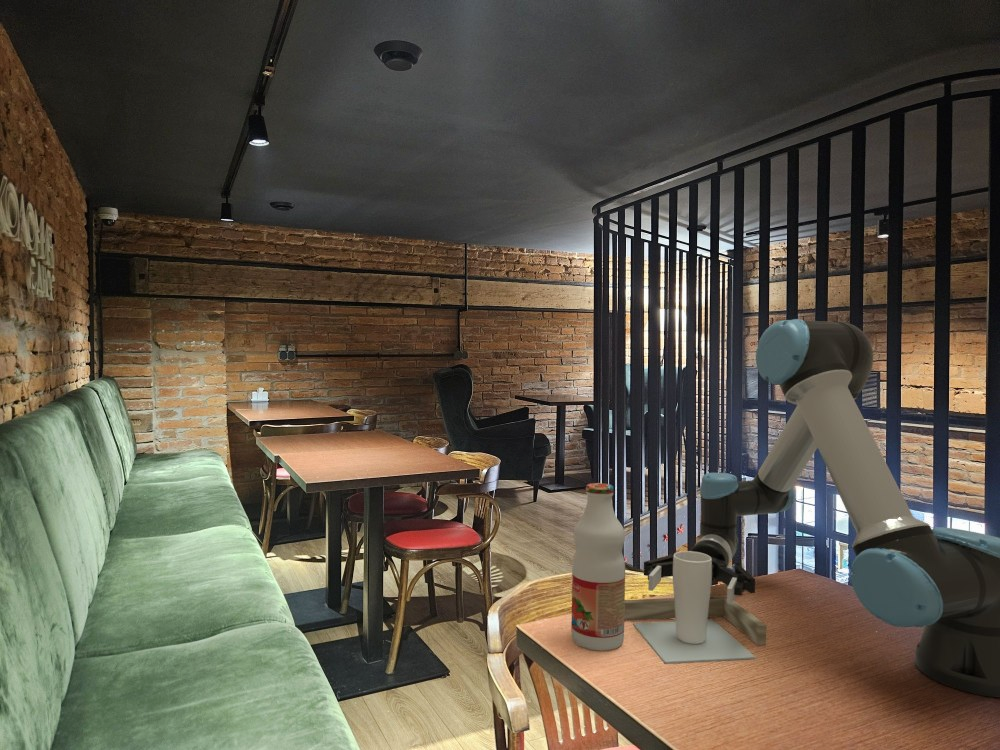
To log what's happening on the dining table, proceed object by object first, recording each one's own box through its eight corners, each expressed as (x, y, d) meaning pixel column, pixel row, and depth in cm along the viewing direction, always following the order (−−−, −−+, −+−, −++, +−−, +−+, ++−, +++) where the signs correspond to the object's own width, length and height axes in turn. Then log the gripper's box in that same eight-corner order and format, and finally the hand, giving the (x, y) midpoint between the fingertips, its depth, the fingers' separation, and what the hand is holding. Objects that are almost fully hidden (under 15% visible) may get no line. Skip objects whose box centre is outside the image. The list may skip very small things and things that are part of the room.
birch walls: (766, 644, 117) (766, 625, 117) (638, 651, 114) (639, 631, 113) (727, 613, 131) (727, 595, 131) (613, 618, 128) (613, 600, 128)
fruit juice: (623, 654, 112) (626, 491, 111) (568, 649, 114) (570, 489, 113) (624, 632, 121) (627, 481, 121) (573, 627, 123) (575, 479, 123)
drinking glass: (665, 640, 117) (667, 557, 117) (678, 628, 123) (680, 548, 122) (703, 650, 113) (705, 564, 113) (715, 637, 119) (717, 555, 119)
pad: (755, 659, 111) (755, 657, 111) (665, 663, 109) (665, 661, 109) (712, 621, 127) (712, 619, 127) (633, 624, 125) (633, 623, 125)
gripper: (775, 586, 129) (764, 624, 110) (649, 566, 140) (619, 598, 121) (775, 548, 129) (765, 580, 110) (649, 531, 140) (620, 557, 121)
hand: (688, 589), depth 116 cm, fingers open, 13 cm apart
